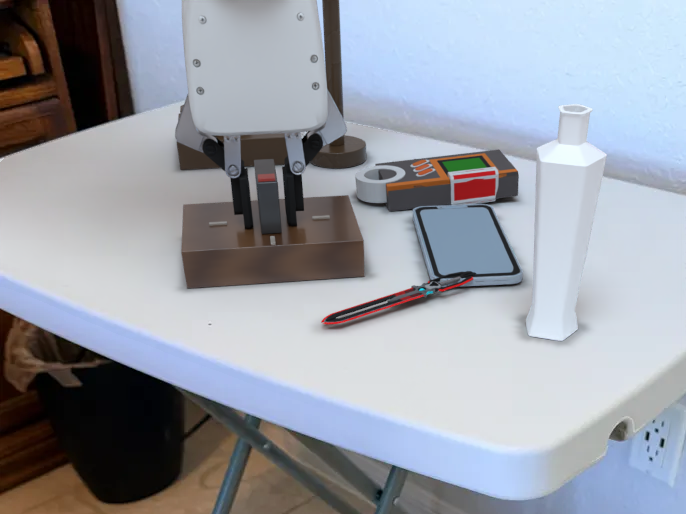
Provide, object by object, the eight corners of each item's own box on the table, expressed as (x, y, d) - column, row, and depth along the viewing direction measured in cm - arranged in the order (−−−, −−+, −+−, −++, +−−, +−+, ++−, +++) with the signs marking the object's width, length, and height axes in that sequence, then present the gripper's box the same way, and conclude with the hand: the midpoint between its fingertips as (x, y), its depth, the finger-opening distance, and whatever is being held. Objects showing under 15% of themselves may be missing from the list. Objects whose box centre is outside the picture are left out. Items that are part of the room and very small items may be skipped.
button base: (180, 170, 93) (173, 123, 90) (182, 139, 101) (175, 95, 98) (299, 163, 95) (296, 117, 92) (292, 134, 102) (289, 90, 99)
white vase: (504, 325, 68) (521, 106, 58) (549, 309, 70) (573, 95, 60) (546, 349, 65) (571, 124, 55) (592, 332, 67) (624, 112, 57)
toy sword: (314, 321, 68) (314, 313, 67) (467, 272, 73) (468, 264, 73) (328, 333, 66) (328, 324, 66) (482, 282, 72) (483, 274, 72)
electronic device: (350, 162, 88) (502, 145, 90) (352, 193, 90) (502, 175, 92) (361, 187, 83) (523, 168, 85) (364, 219, 85) (522, 200, 86)
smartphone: (432, 280, 72) (410, 206, 83) (432, 290, 72) (410, 215, 84) (526, 275, 72) (492, 203, 84) (525, 285, 73) (491, 212, 84)
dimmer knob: (258, 209, 77) (253, 156, 74) (277, 207, 77) (273, 155, 74) (261, 234, 73) (256, 179, 70) (281, 233, 73) (277, 178, 70)
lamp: (302, 173, 93) (279, -158, 76) (295, 148, 99) (274, -164, 82) (381, 169, 94) (376, -159, 77) (370, 144, 100) (364, -164, 83)
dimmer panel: (186, 288, 72) (180, 249, 70) (188, 238, 80) (182, 202, 78) (364, 276, 74) (363, 238, 72) (349, 229, 82) (348, 193, 80)
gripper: (357, -56, 67) (363, 199, 79) (126, -51, 65) (168, 210, 77) (371, -39, 61) (376, 232, 73) (119, -33, 59) (166, 245, 71)
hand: (269, 219), depth 75 cm, fingers closed
